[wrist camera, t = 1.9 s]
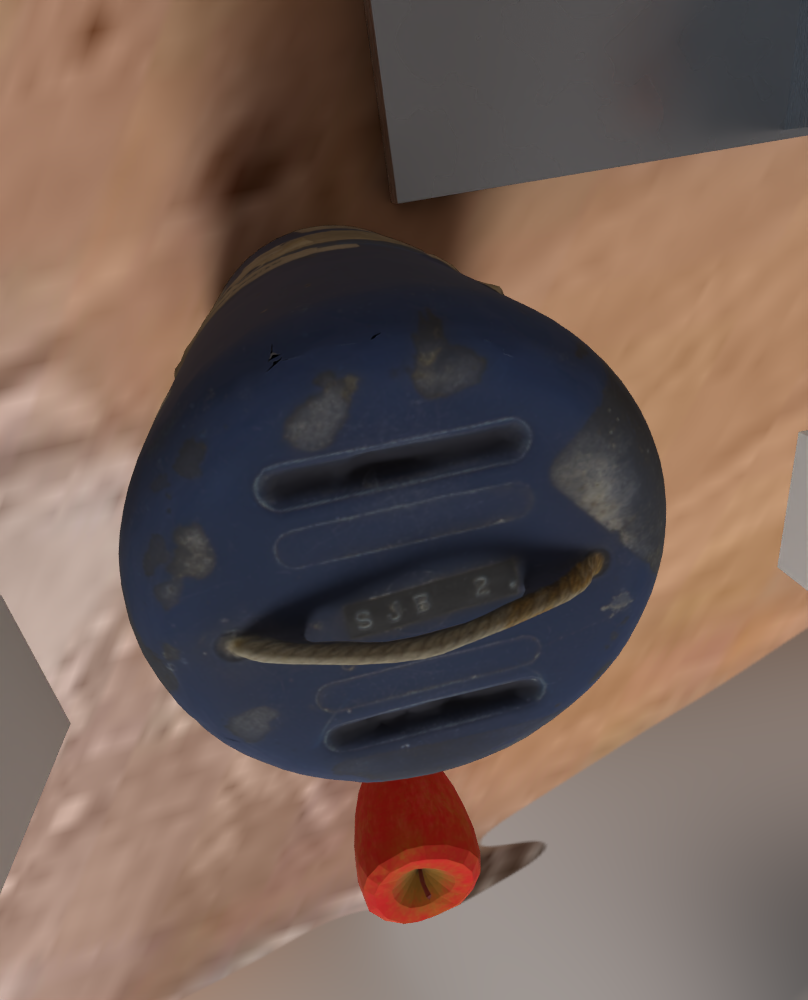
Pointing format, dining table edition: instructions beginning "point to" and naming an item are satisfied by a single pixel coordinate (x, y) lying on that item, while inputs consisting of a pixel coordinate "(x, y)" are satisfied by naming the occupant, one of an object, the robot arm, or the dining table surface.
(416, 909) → the apple
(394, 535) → the canister
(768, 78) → the grey l-shaped stand
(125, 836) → the dining table surface
